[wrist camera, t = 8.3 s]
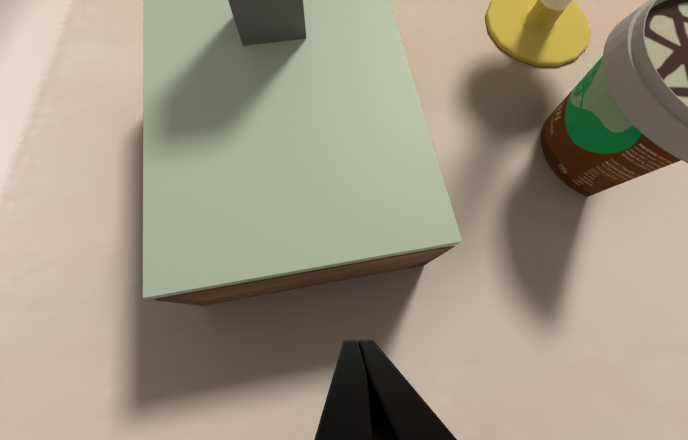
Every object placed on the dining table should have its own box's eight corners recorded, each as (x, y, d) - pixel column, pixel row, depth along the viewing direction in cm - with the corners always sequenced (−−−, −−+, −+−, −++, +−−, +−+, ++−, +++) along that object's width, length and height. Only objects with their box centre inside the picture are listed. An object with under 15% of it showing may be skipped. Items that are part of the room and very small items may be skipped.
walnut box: (425, 264, 23) (454, 246, 18) (201, 305, 22) (154, 300, 16) (368, 50, 29) (377, -16, 23) (189, 71, 28) (152, 7, 22)
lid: (456, 244, 17) (572, 172, 9) (151, 299, 16) (-49, 273, 8) (378, -20, 23) (403, -214, 15) (150, 3, 22) (36, -196, 13)
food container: (548, 70, 29) (652, -52, 20) (614, 96, 29) (754, -17, 19) (508, 179, 26) (612, 96, 16) (583, 212, 25) (737, 145, 16)
